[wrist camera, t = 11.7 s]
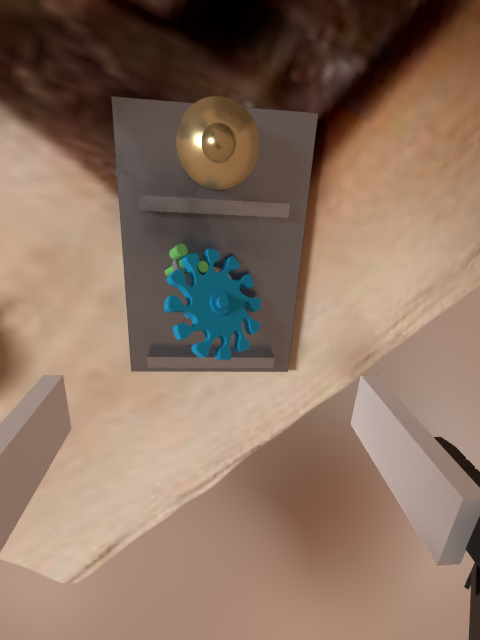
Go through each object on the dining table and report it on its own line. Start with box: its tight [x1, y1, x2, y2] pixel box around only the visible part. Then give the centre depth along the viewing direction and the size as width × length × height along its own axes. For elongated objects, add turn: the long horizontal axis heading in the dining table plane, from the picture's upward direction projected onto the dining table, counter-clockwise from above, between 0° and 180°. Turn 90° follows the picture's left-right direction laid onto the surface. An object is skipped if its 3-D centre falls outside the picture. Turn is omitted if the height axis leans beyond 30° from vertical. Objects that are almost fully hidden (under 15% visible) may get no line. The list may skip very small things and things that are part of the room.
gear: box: [164, 244, 261, 361], centre depth 31 cm, size 11×6×10 cm
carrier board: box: [111, 96, 318, 372], centre depth 30 cm, size 25×17×7 cm
